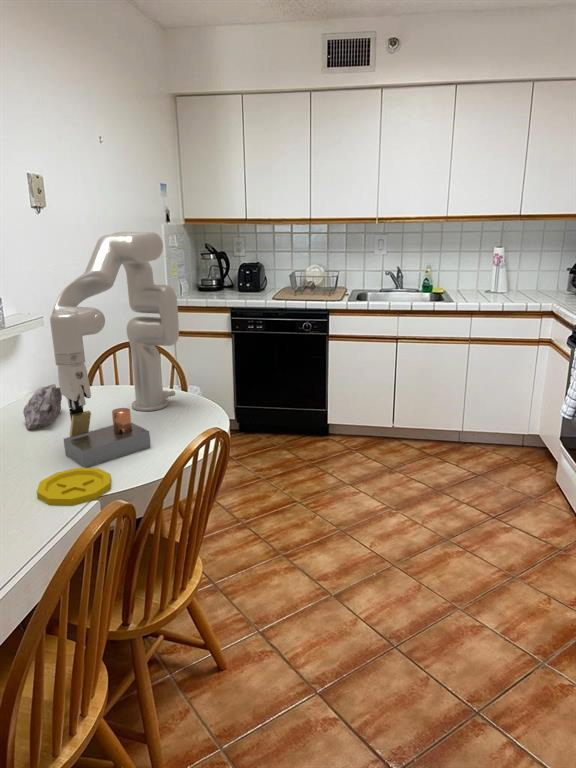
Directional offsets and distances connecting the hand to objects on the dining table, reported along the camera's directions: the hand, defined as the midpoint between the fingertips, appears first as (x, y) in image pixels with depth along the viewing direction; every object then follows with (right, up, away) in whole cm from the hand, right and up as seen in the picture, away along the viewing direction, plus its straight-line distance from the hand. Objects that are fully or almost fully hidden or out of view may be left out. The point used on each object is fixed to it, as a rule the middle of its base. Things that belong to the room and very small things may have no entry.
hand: (77, 421), depth 159 cm
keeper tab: (+1, -1, -1) cm, 2 cm away
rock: (-22, -2, +29) cm, 36 cm away
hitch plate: (+7, -9, +4) cm, 12 cm away
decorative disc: (+6, -16, -18) cm, 25 cm away
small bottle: (+11, -7, +7) cm, 15 cm away
